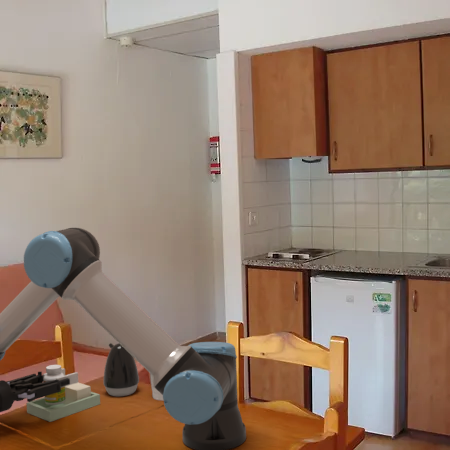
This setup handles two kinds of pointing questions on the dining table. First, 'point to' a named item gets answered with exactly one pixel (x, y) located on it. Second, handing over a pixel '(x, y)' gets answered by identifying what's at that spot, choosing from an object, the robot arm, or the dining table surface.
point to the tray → (60, 407)
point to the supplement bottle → (52, 374)
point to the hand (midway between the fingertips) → (70, 375)
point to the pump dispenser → (120, 372)
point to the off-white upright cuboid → (76, 392)
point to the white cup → (155, 391)
